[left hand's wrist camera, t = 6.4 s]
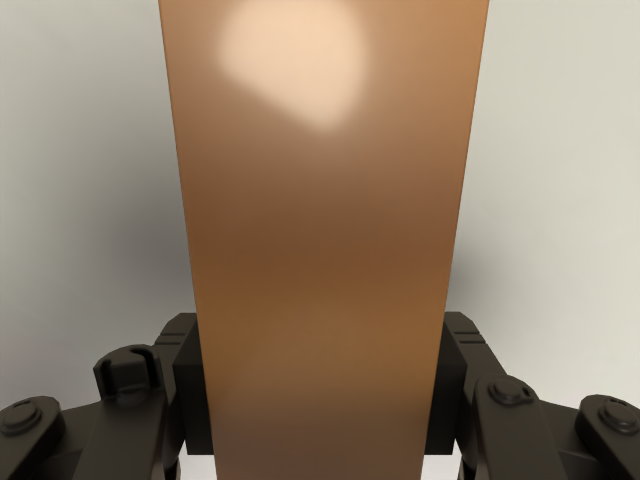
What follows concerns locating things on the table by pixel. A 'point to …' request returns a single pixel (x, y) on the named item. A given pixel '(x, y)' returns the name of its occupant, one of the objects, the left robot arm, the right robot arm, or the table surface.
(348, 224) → the post
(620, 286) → the table surface
